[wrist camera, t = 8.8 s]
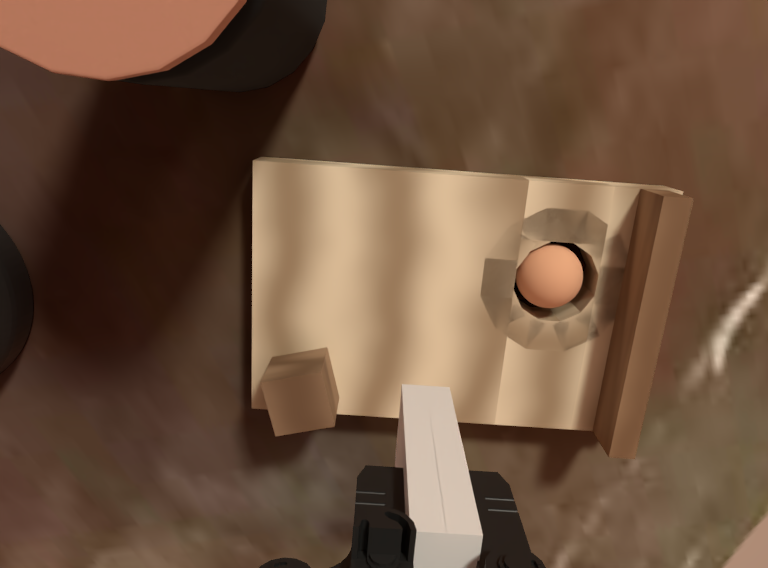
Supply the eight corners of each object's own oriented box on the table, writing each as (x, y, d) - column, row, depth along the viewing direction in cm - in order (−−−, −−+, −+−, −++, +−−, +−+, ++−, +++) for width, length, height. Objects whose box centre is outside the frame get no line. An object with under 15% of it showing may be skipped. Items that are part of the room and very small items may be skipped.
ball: (539, 300, 39) (499, 303, 37) (545, 241, 39) (505, 239, 36) (592, 311, 36) (552, 315, 34) (600, 247, 35) (560, 245, 33)
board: (259, 390, 41) (240, 433, 35) (261, 156, 36) (240, 165, 31) (615, 414, 41) (649, 459, 36) (663, 185, 36) (710, 199, 31)
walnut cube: (285, 406, 38) (275, 436, 35) (272, 356, 37) (260, 382, 34) (339, 397, 38) (334, 426, 35) (327, 347, 37) (321, 372, 34)
